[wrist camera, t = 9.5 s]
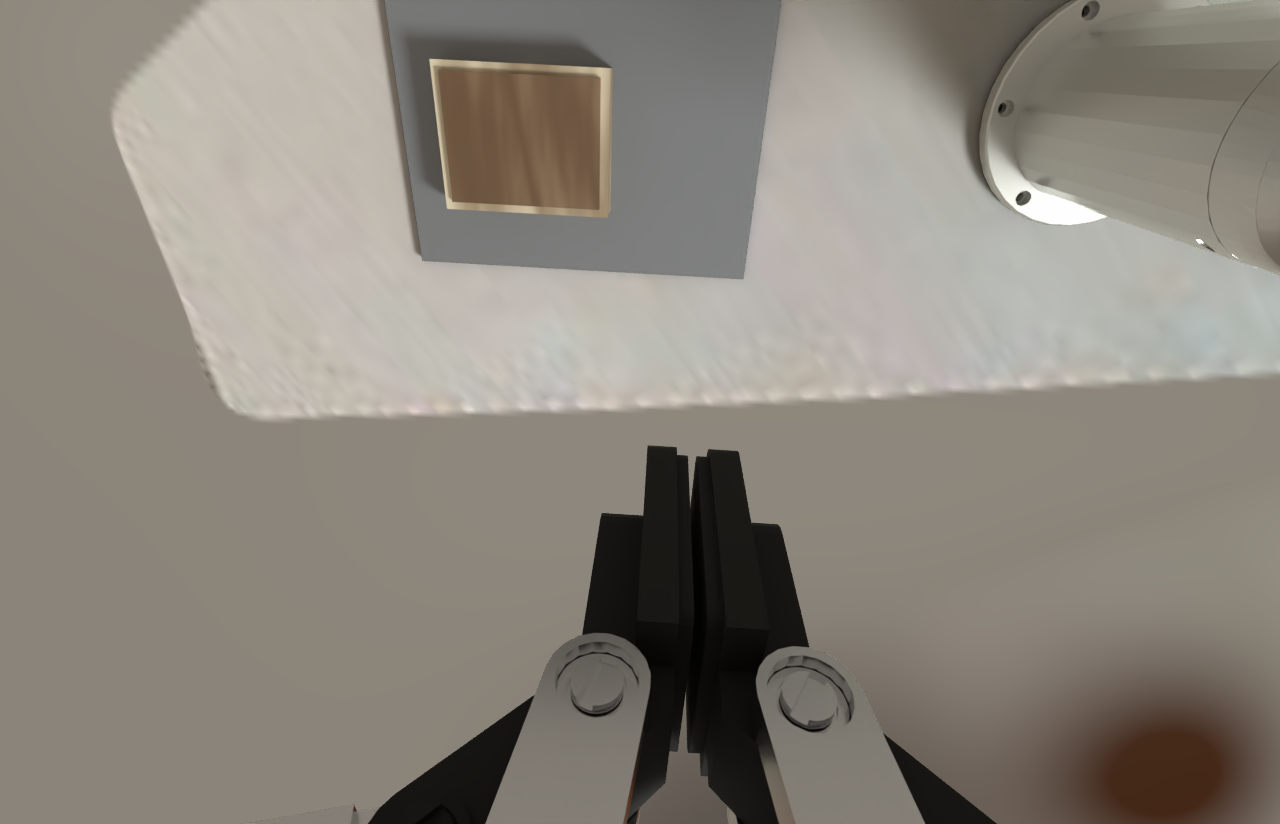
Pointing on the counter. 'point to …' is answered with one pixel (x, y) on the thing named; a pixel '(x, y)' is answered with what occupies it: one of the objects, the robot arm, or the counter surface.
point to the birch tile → (524, 136)
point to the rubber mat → (641, 127)
